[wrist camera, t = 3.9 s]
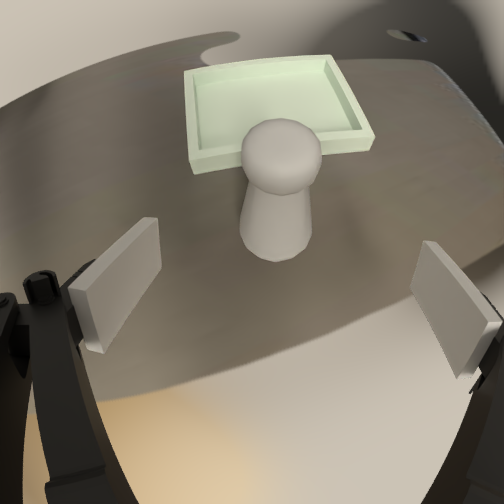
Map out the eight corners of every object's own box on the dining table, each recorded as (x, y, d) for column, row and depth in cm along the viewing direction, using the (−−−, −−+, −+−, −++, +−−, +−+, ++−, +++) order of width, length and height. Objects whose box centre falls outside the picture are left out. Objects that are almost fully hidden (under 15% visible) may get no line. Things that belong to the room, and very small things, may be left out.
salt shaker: (290, 280, 26) (313, 210, 13) (229, 251, 27) (201, 163, 15) (318, 222, 27) (353, 124, 15) (260, 197, 28) (256, 89, 16)
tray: (194, 174, 29) (189, 160, 27) (187, 85, 34) (183, 71, 32) (368, 150, 30) (374, 136, 28) (328, 68, 34) (330, 54, 32)
